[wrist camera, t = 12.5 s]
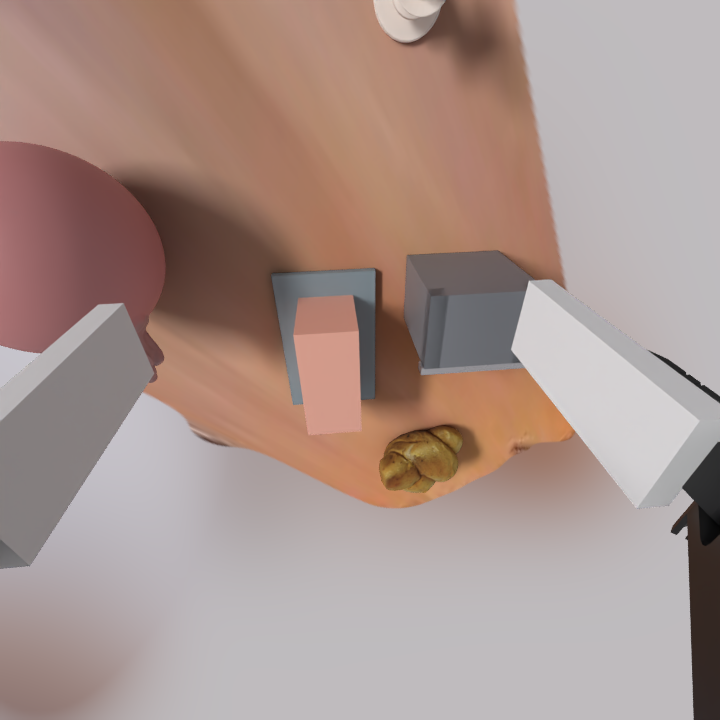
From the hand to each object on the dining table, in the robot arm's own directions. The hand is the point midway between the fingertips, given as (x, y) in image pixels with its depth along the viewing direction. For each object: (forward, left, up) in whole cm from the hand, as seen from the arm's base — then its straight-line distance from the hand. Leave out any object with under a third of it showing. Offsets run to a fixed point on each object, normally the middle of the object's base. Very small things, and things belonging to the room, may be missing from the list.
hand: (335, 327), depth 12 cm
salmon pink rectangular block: (+17, -1, -26) cm, 31 cm away
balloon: (+5, -21, -27) cm, 34 cm away
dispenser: (+11, +13, -27) cm, 31 cm away
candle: (-13, +7, -27) cm, 31 cm away
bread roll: (+37, +12, -27) cm, 47 cm away
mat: (+17, -1, -27) cm, 32 cm away
